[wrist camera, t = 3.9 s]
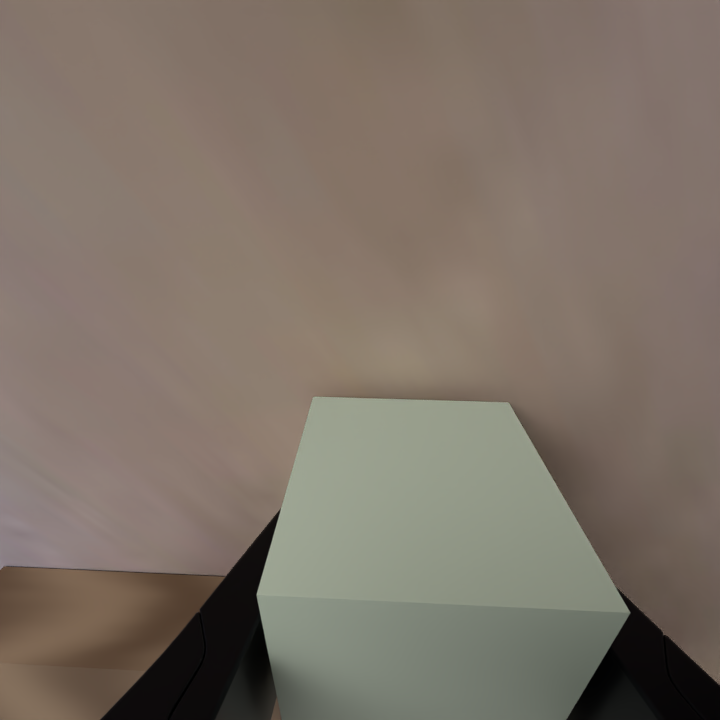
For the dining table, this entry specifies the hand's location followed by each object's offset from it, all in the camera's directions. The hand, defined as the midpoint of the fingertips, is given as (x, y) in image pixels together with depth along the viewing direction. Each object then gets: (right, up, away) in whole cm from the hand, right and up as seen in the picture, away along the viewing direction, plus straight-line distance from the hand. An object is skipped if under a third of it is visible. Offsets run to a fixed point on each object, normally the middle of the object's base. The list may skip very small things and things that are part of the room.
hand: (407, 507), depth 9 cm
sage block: (0, +1, +1) cm, 1 cm away
